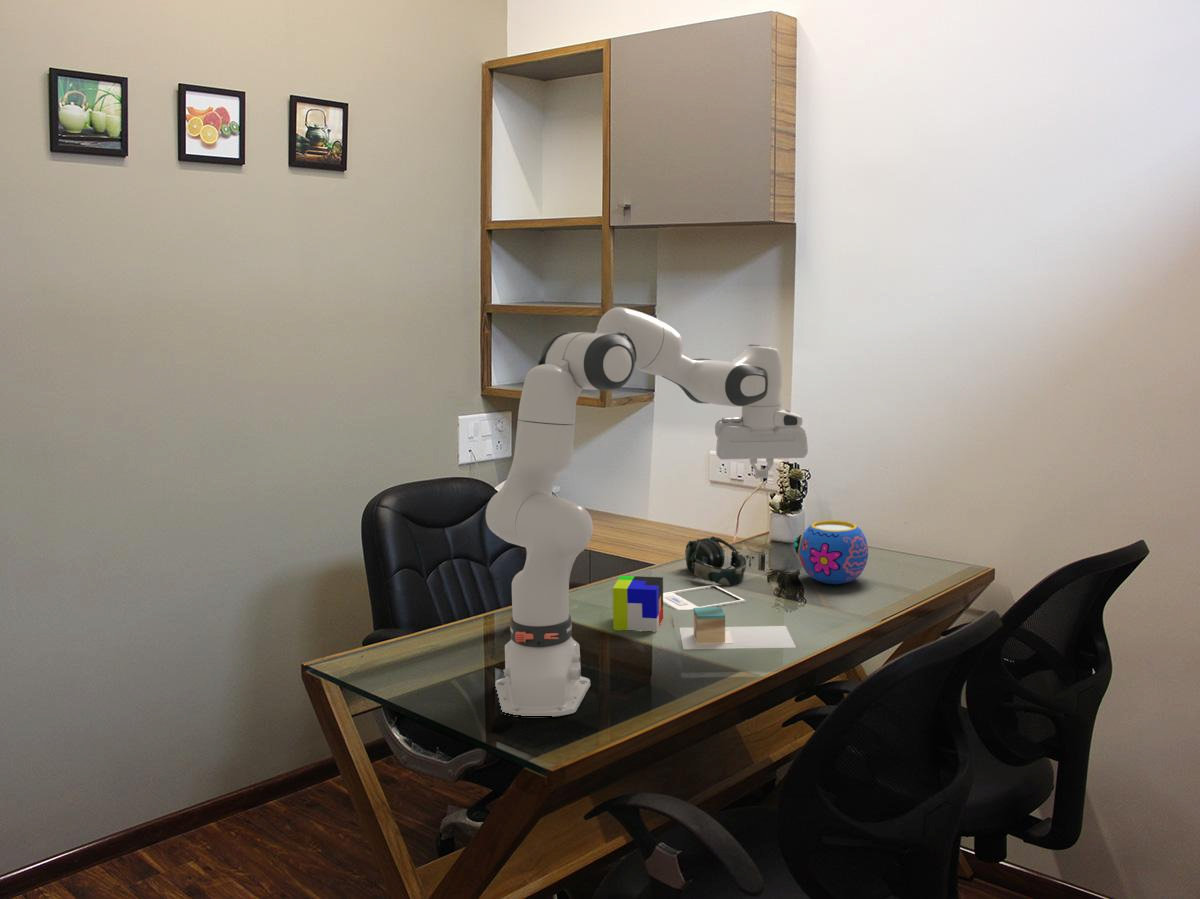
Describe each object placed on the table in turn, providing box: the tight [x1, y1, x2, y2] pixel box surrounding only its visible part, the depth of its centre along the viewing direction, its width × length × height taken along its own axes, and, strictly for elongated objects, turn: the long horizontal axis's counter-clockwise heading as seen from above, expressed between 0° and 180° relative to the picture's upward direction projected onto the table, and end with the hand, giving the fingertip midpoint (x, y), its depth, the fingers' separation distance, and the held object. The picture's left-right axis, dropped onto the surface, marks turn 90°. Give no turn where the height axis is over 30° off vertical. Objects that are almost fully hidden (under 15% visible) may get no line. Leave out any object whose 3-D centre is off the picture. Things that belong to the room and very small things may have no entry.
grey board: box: [678, 625, 797, 650], centre depth 241 cm, size 14×24×1 cm, turn 90°
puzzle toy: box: [612, 575, 664, 632], centre depth 254 cm, size 10×10×10 cm
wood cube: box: [693, 606, 726, 643], centre depth 240 cm, size 6×6×6 cm
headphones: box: [684, 536, 747, 586], centre depth 291 cm, size 13×13×20 cm
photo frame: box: [663, 584, 746, 611], centre depth 272 cm, size 15×1×18 cm
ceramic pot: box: [793, 520, 869, 585], centre depth 283 cm, size 18×18×15 cm
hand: (761, 477), depth 247 cm, fingers closed
